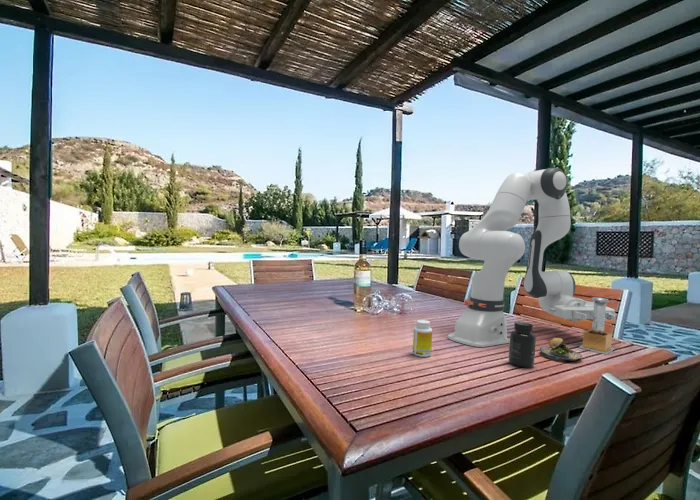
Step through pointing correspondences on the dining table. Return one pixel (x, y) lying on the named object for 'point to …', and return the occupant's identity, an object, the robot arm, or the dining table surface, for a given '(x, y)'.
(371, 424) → the dining table surface
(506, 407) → the dining table surface
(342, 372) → the dining table surface
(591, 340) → the block
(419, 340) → the supplement bottle
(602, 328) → the drop pin
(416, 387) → the dining table surface
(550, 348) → the burger
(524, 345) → the supplement bottle
